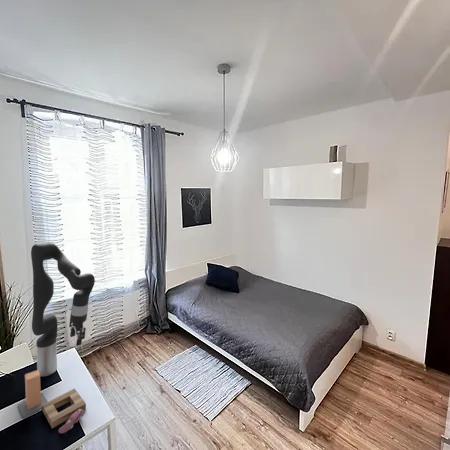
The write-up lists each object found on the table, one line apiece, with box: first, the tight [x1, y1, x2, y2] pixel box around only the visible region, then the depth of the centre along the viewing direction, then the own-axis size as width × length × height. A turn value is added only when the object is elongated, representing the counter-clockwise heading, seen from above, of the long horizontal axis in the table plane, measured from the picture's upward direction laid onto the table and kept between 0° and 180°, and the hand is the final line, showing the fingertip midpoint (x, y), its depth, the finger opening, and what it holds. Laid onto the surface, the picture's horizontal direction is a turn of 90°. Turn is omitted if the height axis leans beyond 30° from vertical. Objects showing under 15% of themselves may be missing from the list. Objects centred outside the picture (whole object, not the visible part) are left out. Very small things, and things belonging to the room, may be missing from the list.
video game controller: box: [58, 409, 85, 434], centre depth 112 cm, size 10×5×7 cm, turn 169°
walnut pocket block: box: [41, 388, 87, 429], centre depth 120 cm, size 14×14×3 cm
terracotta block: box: [24, 369, 42, 410], centre depth 121 cm, size 5×5×15 cm
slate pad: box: [17, 392, 49, 419], centre depth 122 cm, size 10×10×1 cm
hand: (75, 340), depth 131 cm, fingers open, 8 cm apart
